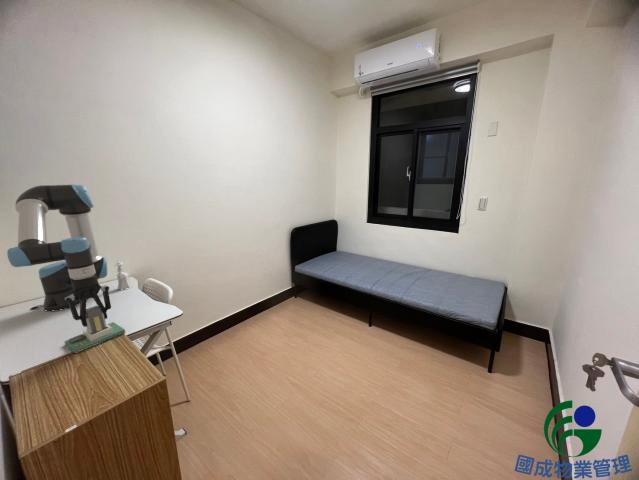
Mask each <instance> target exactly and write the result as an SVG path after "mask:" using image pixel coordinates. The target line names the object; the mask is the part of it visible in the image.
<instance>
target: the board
mask: <svg viewBox="0 0 639 480" xmlns="http://www.w3.org/2000/svg"><path fill="white" fill-rule="evenodd" d="M106 326H107V327H106V328H105V330H102V331H100V332H97V333H95V334H92V333H91V334H90V333H89V332H88V331H87V328H86V329H84V330H82V333H81V334H78V335H76V336H73V337H71V338H68V339H67V340H65V341H64V344H65V346H66V347H67V348H68V349H69V350H71V352H72V353H73V352H78V351H79V350H82V349H85V348H87V347H89V346H92V345H94V344H97V343H100V342H102V341H104V340H107V339H109V340H111V339H110V338H112V337H114V336H116V337H118V336H117V335H119V336H120V334H121V335H123V334H125V333H126V330H125V328H123V327H121V326H120V325H118V324H117V323H115V322H110V323H106ZM114 338H115V337H114ZM112 339H113V338H112ZM107 341H108V340H107ZM102 343H103V342H102ZM100 344H101V343H100Z"/></svg>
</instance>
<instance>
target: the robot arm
mask: <svg viewBox="0 0 639 480" xmlns="http://www.w3.org/2000/svg"><path fill="white" fill-rule="evenodd" d="M14 206H15V210H16V212H17V213H18V227H17V228H18V229H17V231H18V232H17V234H18V235H17V246H14V247H10V248H8V250H7V252H6V253H7V254H6V255H7V259H8V262H9V263H10V265H11V266H12V267H13V268H18V267H19V268H21V267H30V266H36V265H41V264H47V265H45V266H42V267H41V268H39V270H38V276H39V277H38V278H39V280H40V283H41V286H42V289H43V293H44V301H43V310H44V311H45V310H47V311H46V312H48V311H51V312H53V311H52V310H58V311H61V310H60V309H63V310H66V309H65V308H67V309H69V310H70V312H71V313H70V314H71V315H72V318H73V320H75V321H80V323H81V325H82V326H83V327H84V328H85V327H86V329H87V331H88V332H89V333H90V334H91V333H92V329H91V325H90V322H89V318H87V317H86V309H87V301H88V300H90V299H93V301H94V302H95V303H96V306H98V307H100V309H101V313H102V317H103V321H104V325H105V328H106V327H107V326H106V324H107V323H106V320H107V319H108V314H107V312H108V310H111V308H112V305H111V300H110V295H109V291H110V286H109V285H101V284H99V279H104V278H106V277H107V276H108V262H107V258H106V257H105V256H103V255H102V254H101V253H98V249H97V245H96V242H95V241H96V239H95V236H94V233H93V229H92V225H91V221H90V217H89V214H90V213H91V212H92V208H94V207H95V205H94V203H93V200H92V197H91V195H90V192H89V191H88V188H87V187H86V186H85V185H83V184H74V183H73V184H55V185H53V184H50V185H48V184H47V185H37V186H33V187H30V188H29V189H27V190H25V191H23V192H22V193H21V194H20V195H19V196H18V197H17V199H16V201H15V205H14ZM49 211H58V212H59V214H60V215H62V216H64V217H65V221H66V224H67V228H68V231H69V234H70V237H69V238H64V239H62V240H61V241H55V242H48V240H47V239H48V237H47V222H46V221H47V220H46V219H47V217H46V214H47V213H48V212H49ZM48 263H50V264H48ZM100 291H101V292H102V296H103V301H104V303H103V302H102V300H101V299H100V296H99V295H98V294H99V292H100ZM79 303H80V304H79ZM77 304H78V305H79V313H78V310H77V307H76V306H78V305H77ZM69 307H70V308H69Z"/></svg>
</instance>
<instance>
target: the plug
mask: <svg viewBox="0 0 639 480" xmlns="http://www.w3.org/2000/svg"><path fill="white" fill-rule="evenodd" d="M86 317H87V318H89V322H90V325H91V329H92V334H95V333H97V332H100V331H102V330H105V325H104V321H103V317H102V313H101V309H100V307H98V305H94V306H91V307H87V308H86Z"/></svg>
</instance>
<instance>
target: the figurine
mask: <svg viewBox="0 0 639 480" xmlns="http://www.w3.org/2000/svg"><path fill="white" fill-rule="evenodd" d="M123 264H124V262H121V261H120V260H117V262H116V263H114V265H113V266H114V267H117V270H115V271H114V272H113V274H114V273H117V275H116V276H117V277H116V279H117V282H118V284H117V285H118V286H117V289H126V288H130V287H131V286H132V287H134V284H133V283H132V281H130V278H129V273H127V272H124V271H123ZM132 287H131V288H132ZM131 288H130V289H131ZM126 290H127V289H126Z"/></svg>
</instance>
